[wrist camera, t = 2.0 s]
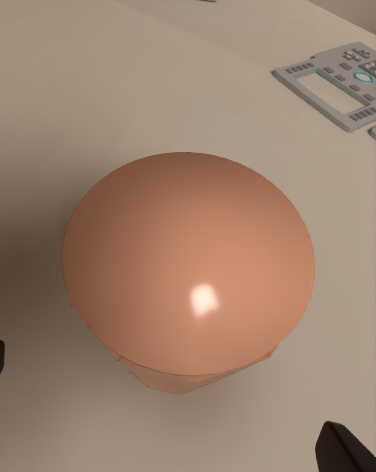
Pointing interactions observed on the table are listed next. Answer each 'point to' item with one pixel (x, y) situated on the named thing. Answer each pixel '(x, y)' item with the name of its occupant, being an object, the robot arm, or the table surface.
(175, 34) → the table surface
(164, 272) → the faceted domed cylinder
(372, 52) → the office telephone
